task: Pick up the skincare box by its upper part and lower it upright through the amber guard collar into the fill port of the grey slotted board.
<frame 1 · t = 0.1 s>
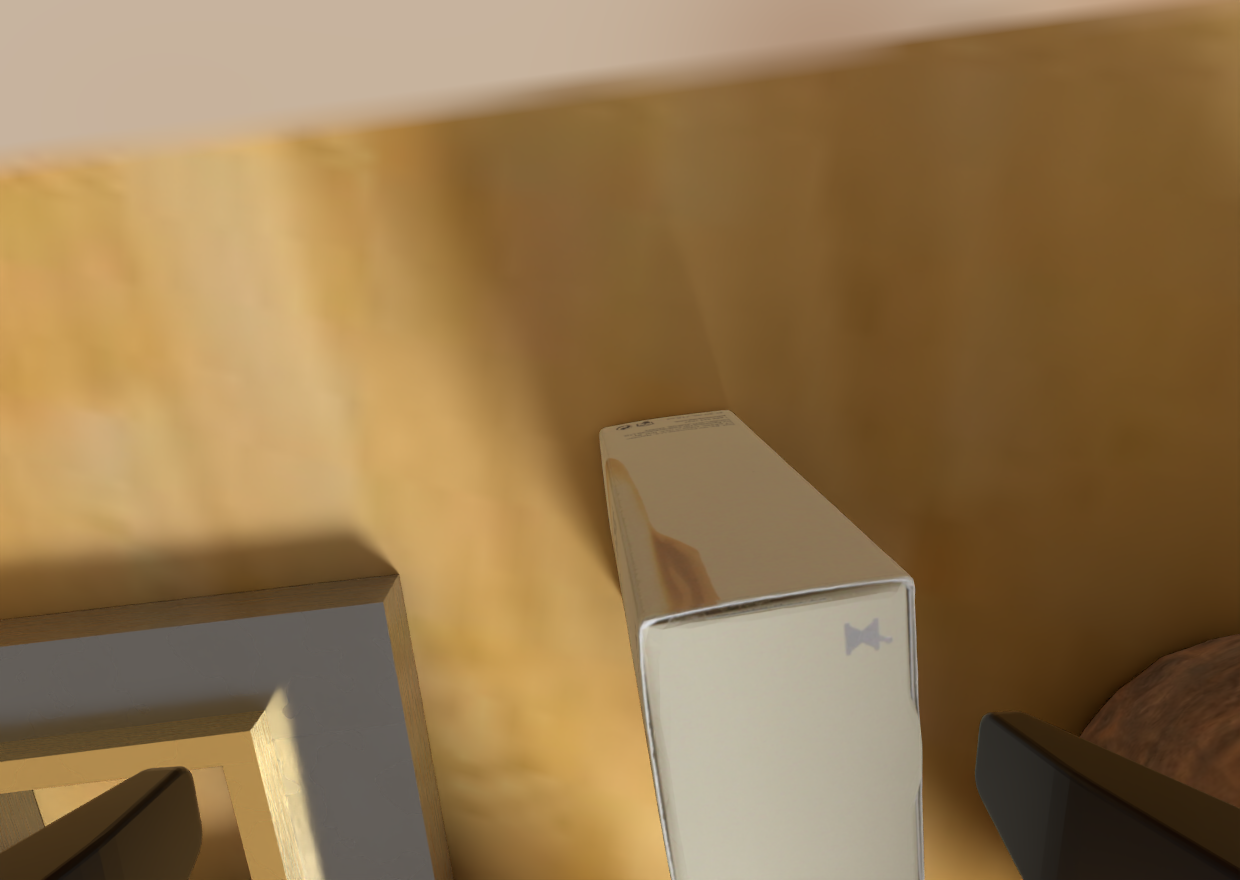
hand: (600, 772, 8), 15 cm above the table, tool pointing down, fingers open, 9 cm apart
grey slotted board: (221, 842, 24), on the table
skincare box: (675, 510, 23), on the table
vase: (1197, 779, 27), on the table
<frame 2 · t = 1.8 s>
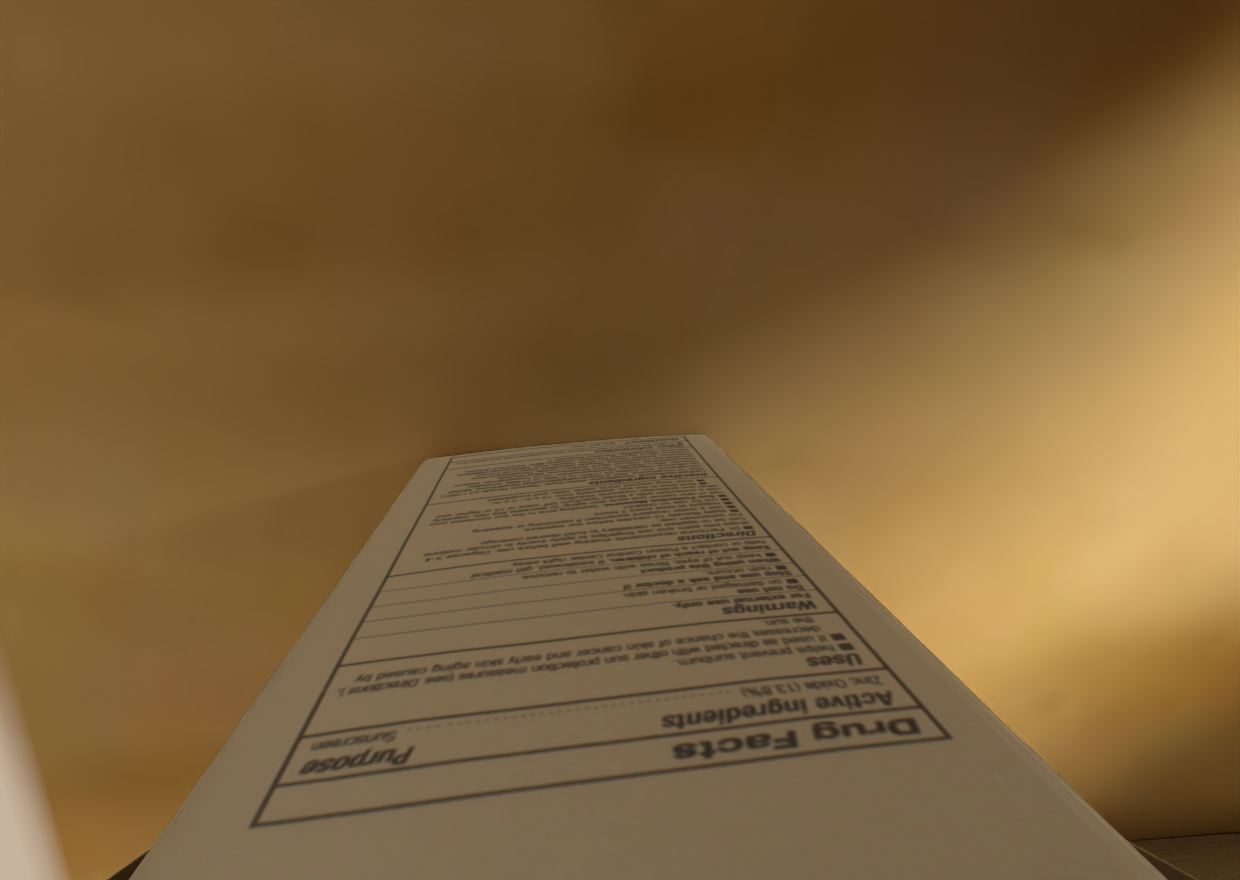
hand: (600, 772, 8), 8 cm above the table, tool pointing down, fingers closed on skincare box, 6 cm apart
skincare box: (583, 533, 16), on the table, touching gripper
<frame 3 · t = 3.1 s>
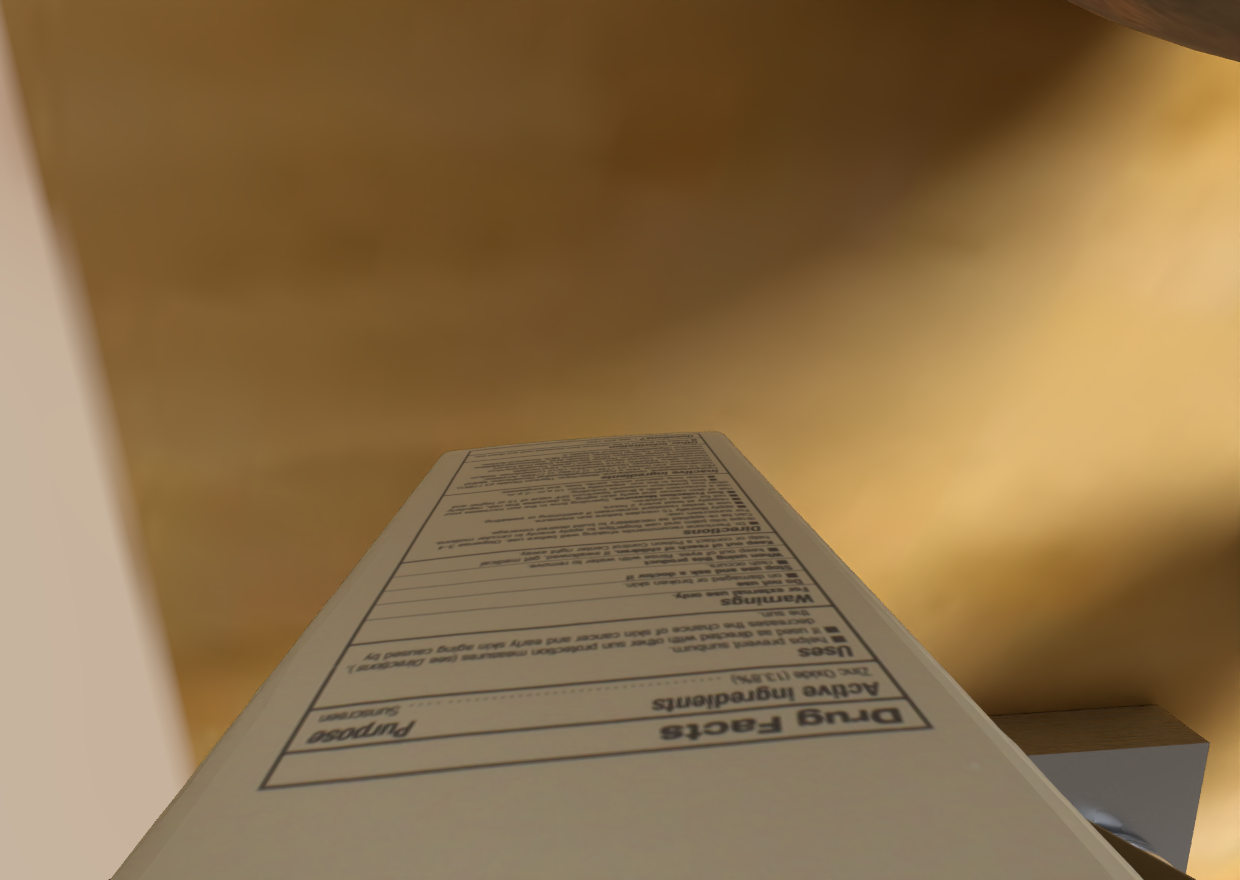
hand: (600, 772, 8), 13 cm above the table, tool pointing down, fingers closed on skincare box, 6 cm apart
skincare box: (598, 527, 16), point 5 cm above the table, touching gripper
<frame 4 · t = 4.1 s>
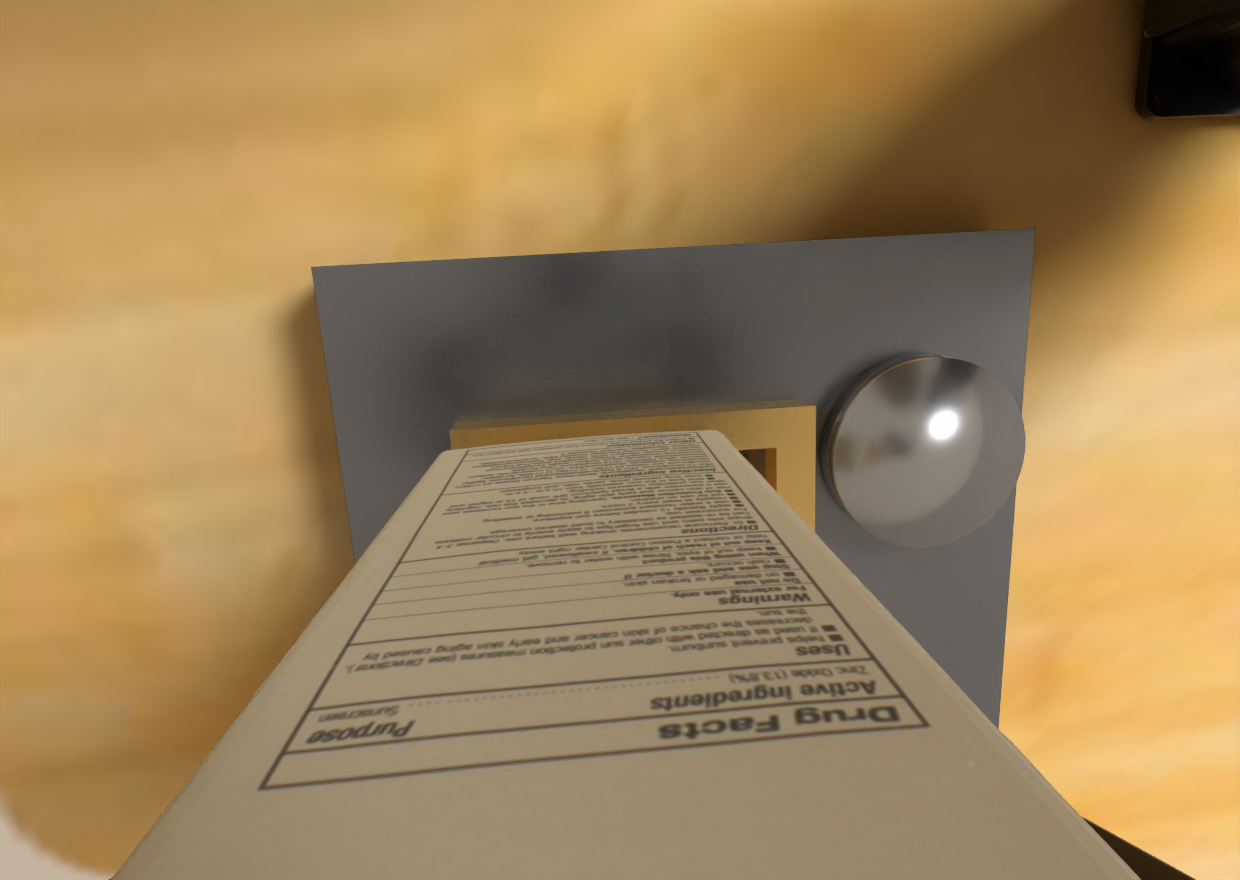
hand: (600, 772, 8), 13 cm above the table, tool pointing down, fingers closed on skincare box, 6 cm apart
grey slotted board: (681, 510, 21), on the table
skincare box: (596, 526, 16), point 5 cm above the table, touching gripper
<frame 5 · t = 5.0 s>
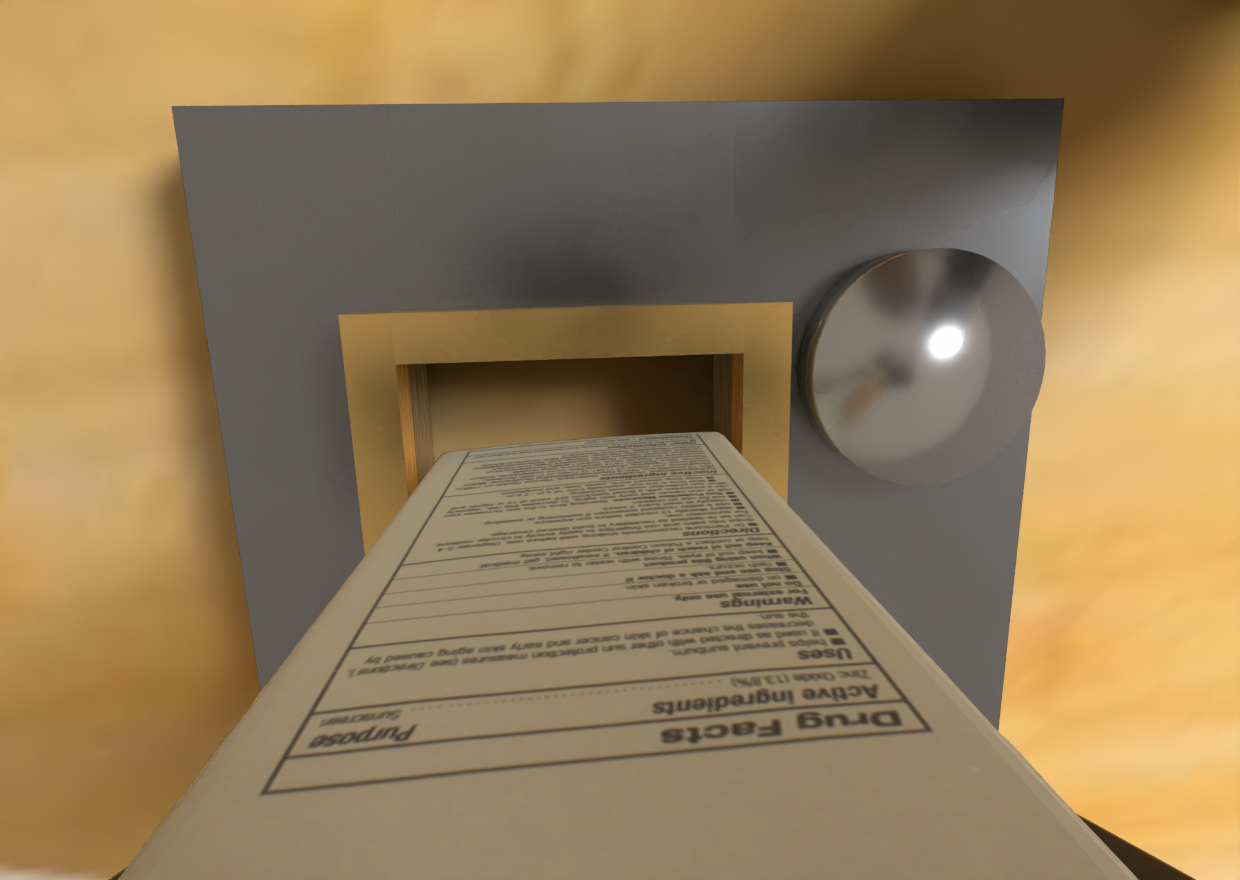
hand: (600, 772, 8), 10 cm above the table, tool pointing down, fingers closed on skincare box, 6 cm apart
grey slotted board: (634, 443, 18), on the table
skincare box: (597, 528, 16), point 2 cm above the table, touching gripper
when the fingers open (9 cm above the table, at t = 5.8 s): skincare box drops 1 cm, resting in grey slotted board.
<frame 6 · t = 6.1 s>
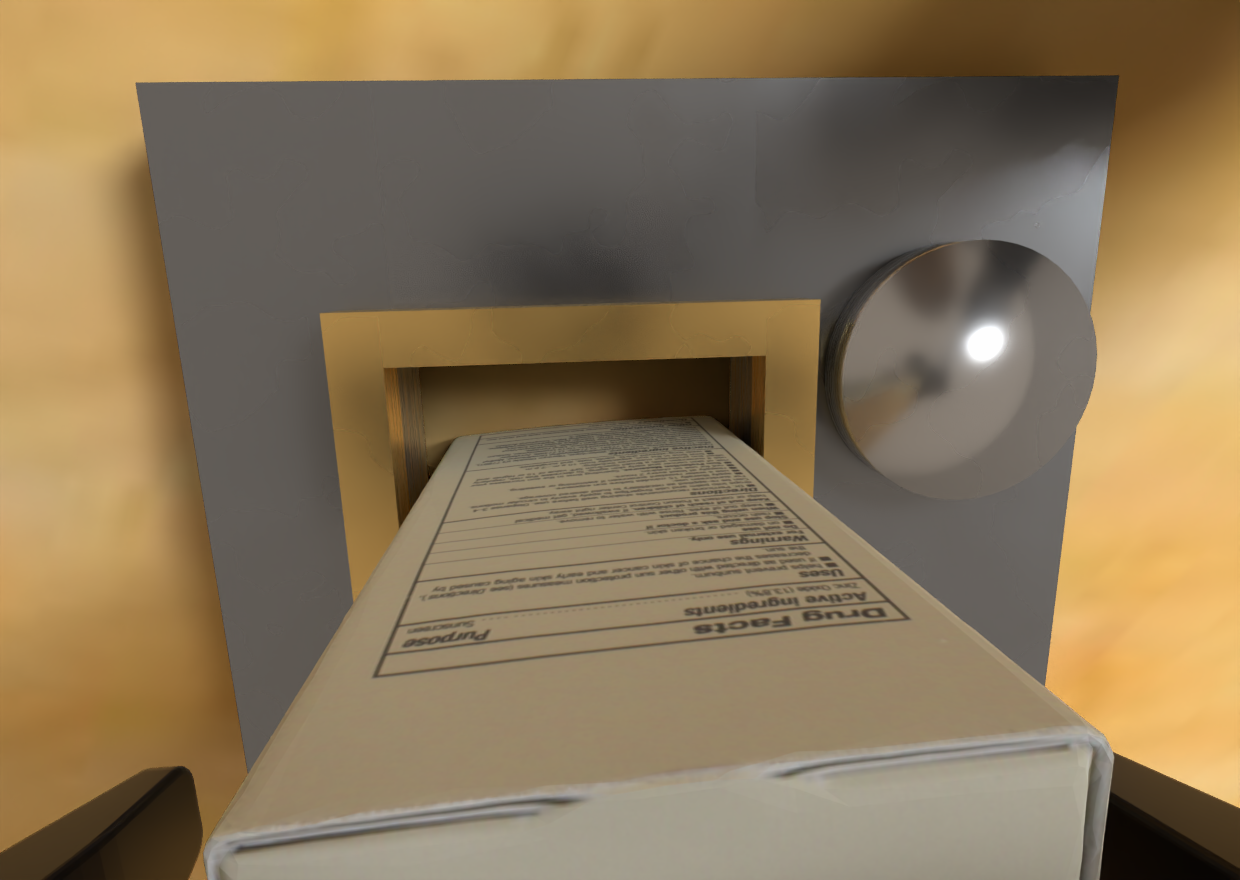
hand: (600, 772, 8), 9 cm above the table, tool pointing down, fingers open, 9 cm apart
grey slotted board: (644, 452, 17), on the table
skincare box: (598, 506, 17), resting in grey slotted board
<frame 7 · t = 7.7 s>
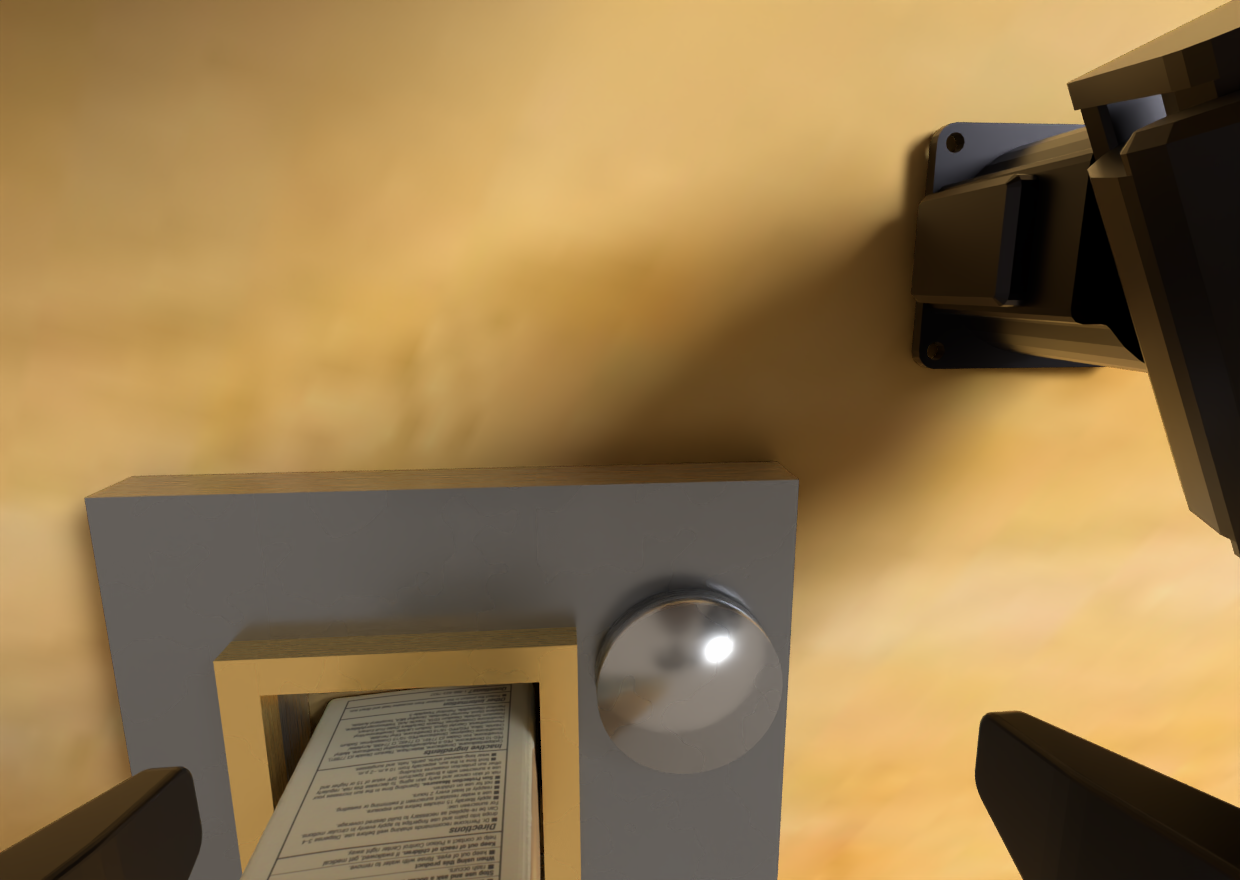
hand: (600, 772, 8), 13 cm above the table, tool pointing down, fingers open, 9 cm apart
grey slotted board: (478, 705, 22), on the table
skincare box: (445, 742, 22), resting in grey slotted board
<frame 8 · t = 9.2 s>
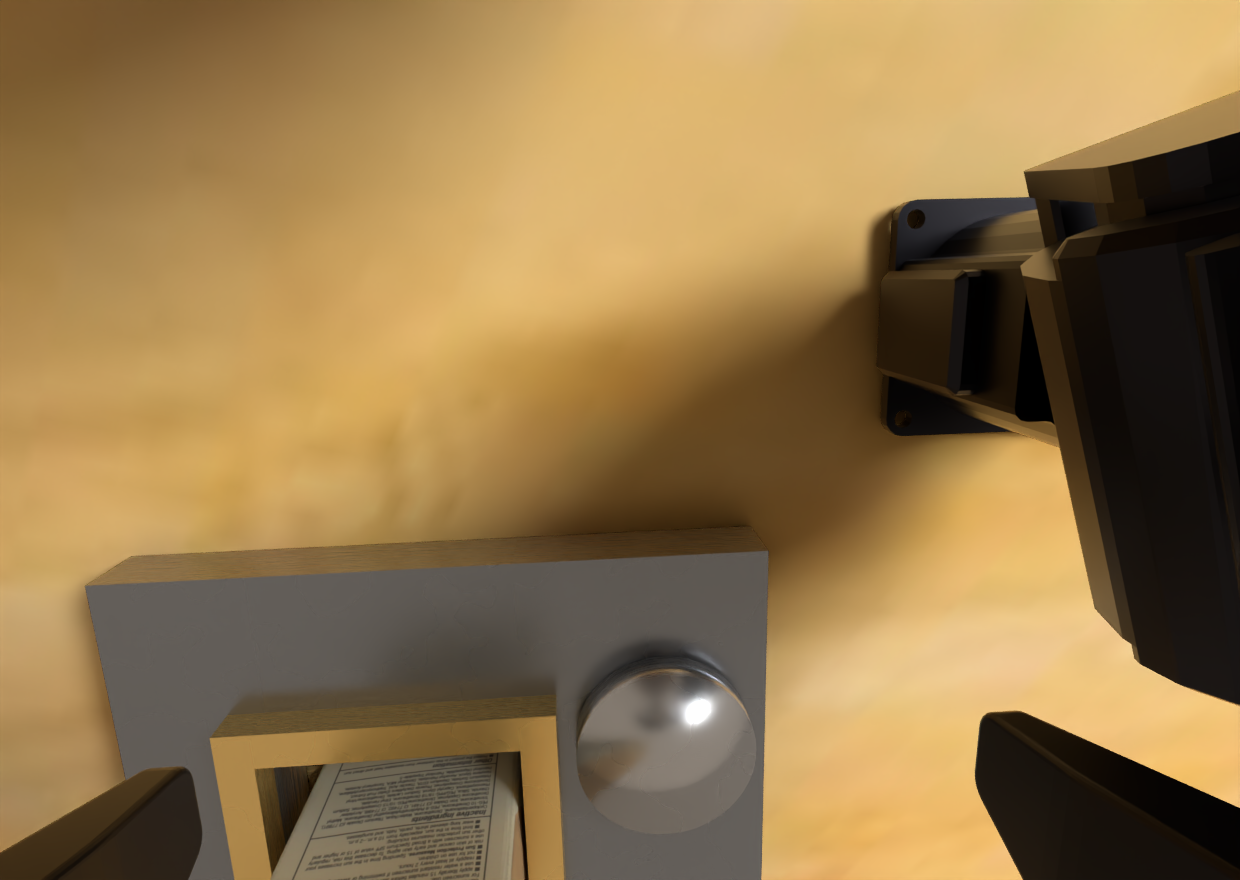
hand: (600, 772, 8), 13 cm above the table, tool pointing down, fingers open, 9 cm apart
grey slotted board: (467, 763, 23), on the table
skincare box: (437, 797, 23), resting in grey slotted board
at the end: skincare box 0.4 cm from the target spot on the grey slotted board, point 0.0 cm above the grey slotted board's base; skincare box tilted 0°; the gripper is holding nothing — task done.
